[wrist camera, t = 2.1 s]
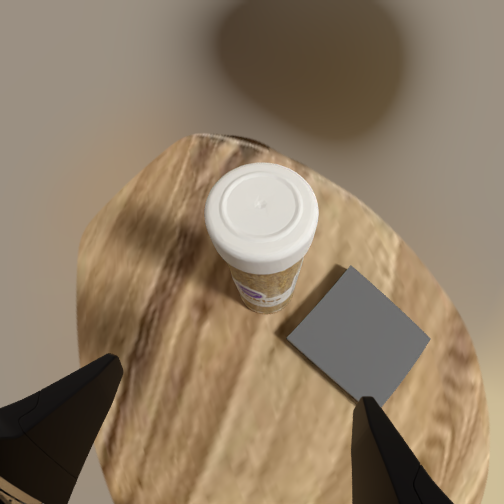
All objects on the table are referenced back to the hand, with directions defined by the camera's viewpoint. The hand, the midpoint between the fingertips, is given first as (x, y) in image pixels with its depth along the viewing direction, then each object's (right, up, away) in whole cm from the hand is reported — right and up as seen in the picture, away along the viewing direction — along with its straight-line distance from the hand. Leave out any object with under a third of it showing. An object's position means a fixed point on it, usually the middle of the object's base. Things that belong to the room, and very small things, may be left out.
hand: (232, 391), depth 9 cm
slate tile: (+10, -3, +12) cm, 16 cm away
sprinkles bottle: (+2, +2, +14) cm, 15 cm away
